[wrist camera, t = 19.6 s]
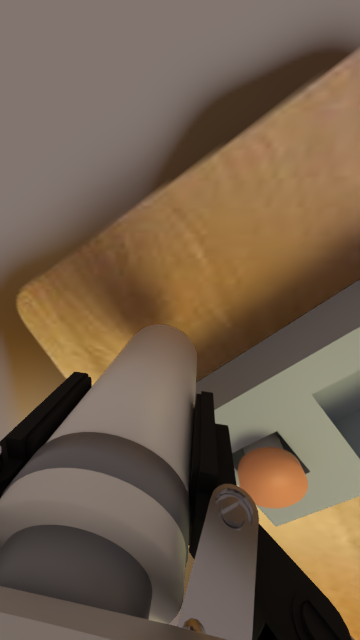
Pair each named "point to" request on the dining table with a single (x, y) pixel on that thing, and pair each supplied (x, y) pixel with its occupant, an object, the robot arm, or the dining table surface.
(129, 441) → the cartridge
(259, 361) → the housing
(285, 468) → the orange knob plunger
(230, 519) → the robot arm
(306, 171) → the dining table surface
